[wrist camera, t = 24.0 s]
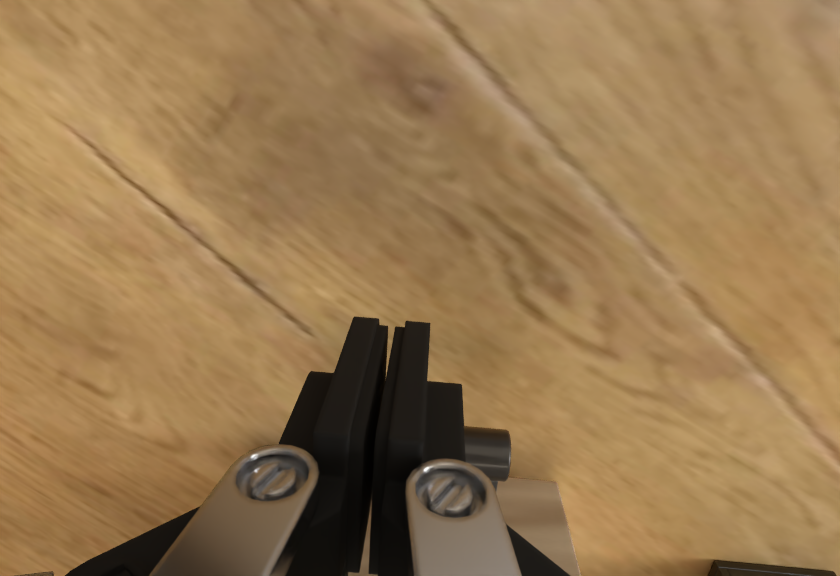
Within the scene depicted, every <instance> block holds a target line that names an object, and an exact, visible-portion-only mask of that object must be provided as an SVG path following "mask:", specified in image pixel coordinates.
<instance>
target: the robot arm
mask: <svg viewBox="0 0 840 576" xmlns="http://www.w3.org/2000/svg"><path fill="white" fill-rule="evenodd" d="M429 337H430V323H424V322H412V321H406V323H405V327H395V332H394V337H393V343H392V348H391V354H390V359H389V365H388V370H387V376H386V359H387V341H388V326H383V325H379V319H376V318H364V317H354V318H353V320H352V323H351V326H350V329H349V332H348V334H347V337H346V340H345V343H344V346H343V349H342V352H341V354H340V357H339V360H338V363H337V366H336V369H335V372H334V373H325V372H313V371H311V372H310V373H309V375H308V376H307V379H306V381H305V383H304V386H303V388H302V390H301V393H300V395H299V397H298V400H297V402H296V404H295V407H294V409H293V411H292V414H291V416H290V418H289V421H288V423H287V425H286V428H285V430H284V432H283V435H282V437H281V439H280V442H279V444H276V445H268V446H263V447H260V448H257V449H254V450H251V451H249V452H248V453H246V454H244V455H243V456H241V457H240V458H239V459H238V460H237V461H236V462H234V463H233V464H232V465H231V467H230V468H229V469H228V471H227V472H226V473H225V475H224V476H223V477H222V479H221V480H220V481H219V483H218V484H217V485H216V487H215V488H214V489H213V491H212V492H211V493H210V495H209V496H208V497H207V499H206V500H205V501H204V503H203V504H202V505H201V506H200V507H198V508H196V509H194V510H192V511H190V512H187V513H185V514H183V515H181V516H179V517H177V518H175V519H173V520H171V521H169V522H167V523H165V524H163V525H160V526H158V527H156V528H154V529H152V530H150V531H148V532H146V533H144V534H142V535H140V536H138V537H136V538H134V539H131V540H129V541H127V542H125V543H123V544H121V545H119V546H117V547H115V548H113V549H111V550H109V551H107V552H105V553H102V554H100V555H98V556H96V557H94V558H92V559H90V560H88V561H86V562H85V563H83V564H81V565H80V566H78V567H76V568H75V569H73V570H71V571H70V572H69V573H68V574H66V575H65V576H348V572H352V573H359V572H360V567H361V561H362V555H363V549H364V543H365V537H366V531H367V525H368V519H369V513H370V507H371V501H372V508H371V529H370V550H369V574H375V575H378V576H570V575H569V574H568V573H567V572H565V571H564V570H563V569H562V568H560V567H559V566H558V565H557V564H555V563H554V562H553V561H552V560H550V559H549V558H548V557H547V556H545V555H544V554H543V553H542V552H540V551H539V550H538V549H537V548H536V547H534V546H533V545H532V544H531V543H529V542H528V541H527V540H526V539H524V538H523V537H522V536H521V535H519V534H518V533H517V532H516V531H514V530H513V529H512V528H511V527H509V526H508V525H507V524H506V523H505V520H504V517H503V514H502V510H501V507H500V504H499V501H498V498H497V494H496V491H495V488H494V486H493V484H492V482H491V481H490V479H489V478H488V477H487V476H486V475H485V474H484V473H483V472H482V471H481V470H480V469H478V468H476V467H475V466H473V465H471V464H469V463H466V458H465V437H464V417H463V397H462V385H461V384H455V383H443V382H431V381H427V372H428V355H429ZM385 378H386V381H385ZM16 576H54V574H53V571H52V572H43V573H34V574H25V575H16Z"/></svg>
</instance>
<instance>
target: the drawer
mask: <svg viewBox="0 0 840 576" xmlns="http://www.w3.org/2000/svg"><path fill="white" fill-rule="evenodd" d="M464 437H465V458H466V463H469V464H471V465H473V466H475V467H476V468H478V469H480V470H481V471H482V472H483V473H484V474H485V475H486V476H487V477H488V478H489V479H490V481H491V482H492V484H493V486H494V488H495V491H496V494H497V498H498V501H499V504H500V507H501V510H502V514H503V517H504V520H505V523H506V524H507V525H508V526H509V527H511V528H512V529H513V530H514V531H516V532H517V533H518V534H519V535H521V536H522V537H523V538H524V539H526V540H527V541H528V542H529V543H531V544H532V545H533V546H534V547H536V548H537V549H538V550H539V551H540V552H542V553H543V554H544V555H545V556H547V557H548V558H549V559H550V560H552V561H553V562H554V563H555V564H557V565H558V566H559V567H560V568H562V569H563V570H564V571H565V572H567V573H568V574H569V575H570V576H581V573H580V569H579V565H578V562H577V558H576V554H575V550H574V546H573V542H572V538H571V534H570V530H569V526H568V522H567V518H566V514H565V511H564V507H563V503H562V499H561V495H560V491H559V487H558V483H557V482H556V481H545V480H534V479H523V478H512V477H508V476H509V471H510V463H511V439H510V434H509V432H508V431H507V430H502V429H491V428H480V427H468V426H464ZM371 508H372V501H371V507H370V513H369V519H368V525H367V531H366V537H365V543H364V549H363V555H362V561H361V567H360V572H359V573H352V572H348V576H378V575H375V574H369V550H370V529H371Z"/></svg>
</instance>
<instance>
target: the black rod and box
mask: <svg viewBox="0 0 840 576" xmlns="http://www.w3.org/2000/svg"><path fill="white" fill-rule="evenodd" d="M709 576H836V574H835V573H834V572H831V571H821V570H810V569H800V568H789V567H779V566H768V565H758V564H748V563H737V562H727V561H716V560H715V561H714V564H713V566H712V569H711V571H710V574H709Z"/></svg>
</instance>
